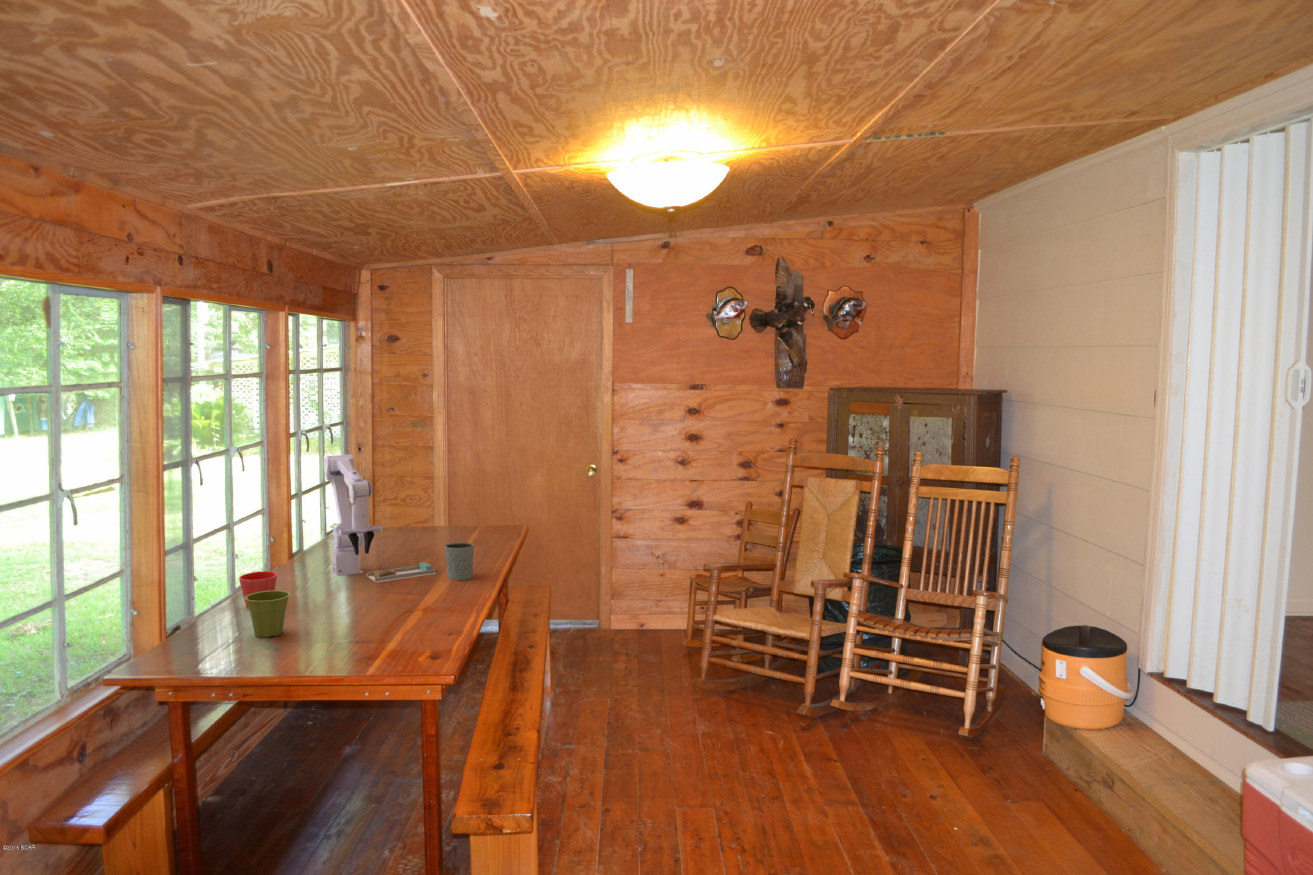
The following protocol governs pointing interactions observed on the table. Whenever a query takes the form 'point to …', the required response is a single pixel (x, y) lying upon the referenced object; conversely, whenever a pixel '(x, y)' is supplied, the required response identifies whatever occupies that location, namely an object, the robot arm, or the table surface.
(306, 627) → the table surface
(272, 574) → the flower pot
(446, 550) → the grey tapered pot
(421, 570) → the track
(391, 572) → the block
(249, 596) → the plant pot
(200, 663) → the table surface
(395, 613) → the table surface
